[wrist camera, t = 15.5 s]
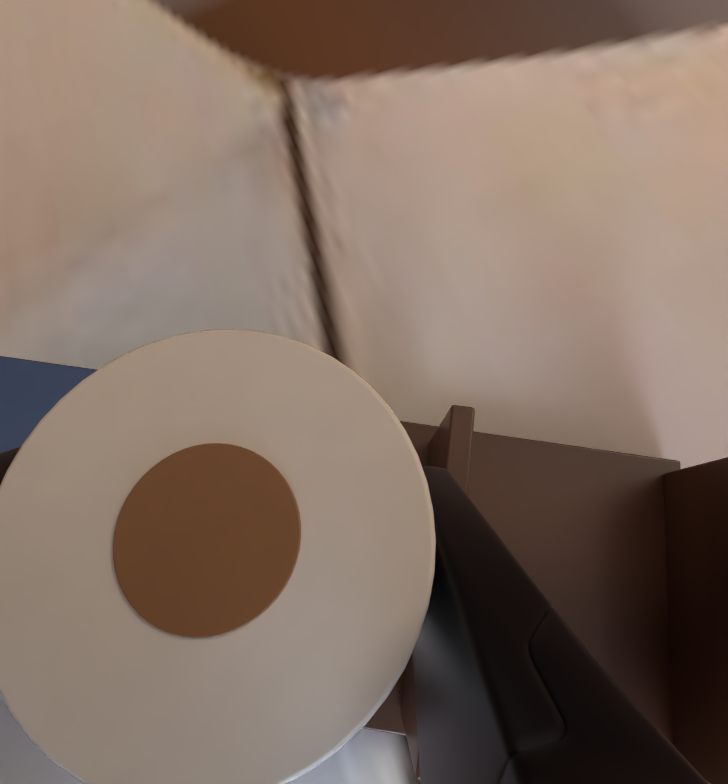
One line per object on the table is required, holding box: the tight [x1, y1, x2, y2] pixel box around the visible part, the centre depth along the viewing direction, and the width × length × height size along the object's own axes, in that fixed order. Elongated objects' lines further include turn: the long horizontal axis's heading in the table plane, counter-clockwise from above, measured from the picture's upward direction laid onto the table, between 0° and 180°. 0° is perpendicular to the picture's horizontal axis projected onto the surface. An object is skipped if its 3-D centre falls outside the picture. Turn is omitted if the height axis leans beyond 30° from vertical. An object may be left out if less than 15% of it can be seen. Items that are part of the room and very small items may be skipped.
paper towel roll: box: [0, 329, 436, 784], centre depth 11 cm, size 5×5×10 cm
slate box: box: [0, 356, 97, 453], centre depth 14 cm, size 7×5×4 cm
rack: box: [363, 405, 728, 784], centre depth 14 cm, size 9×23×5 cm, turn 82°
